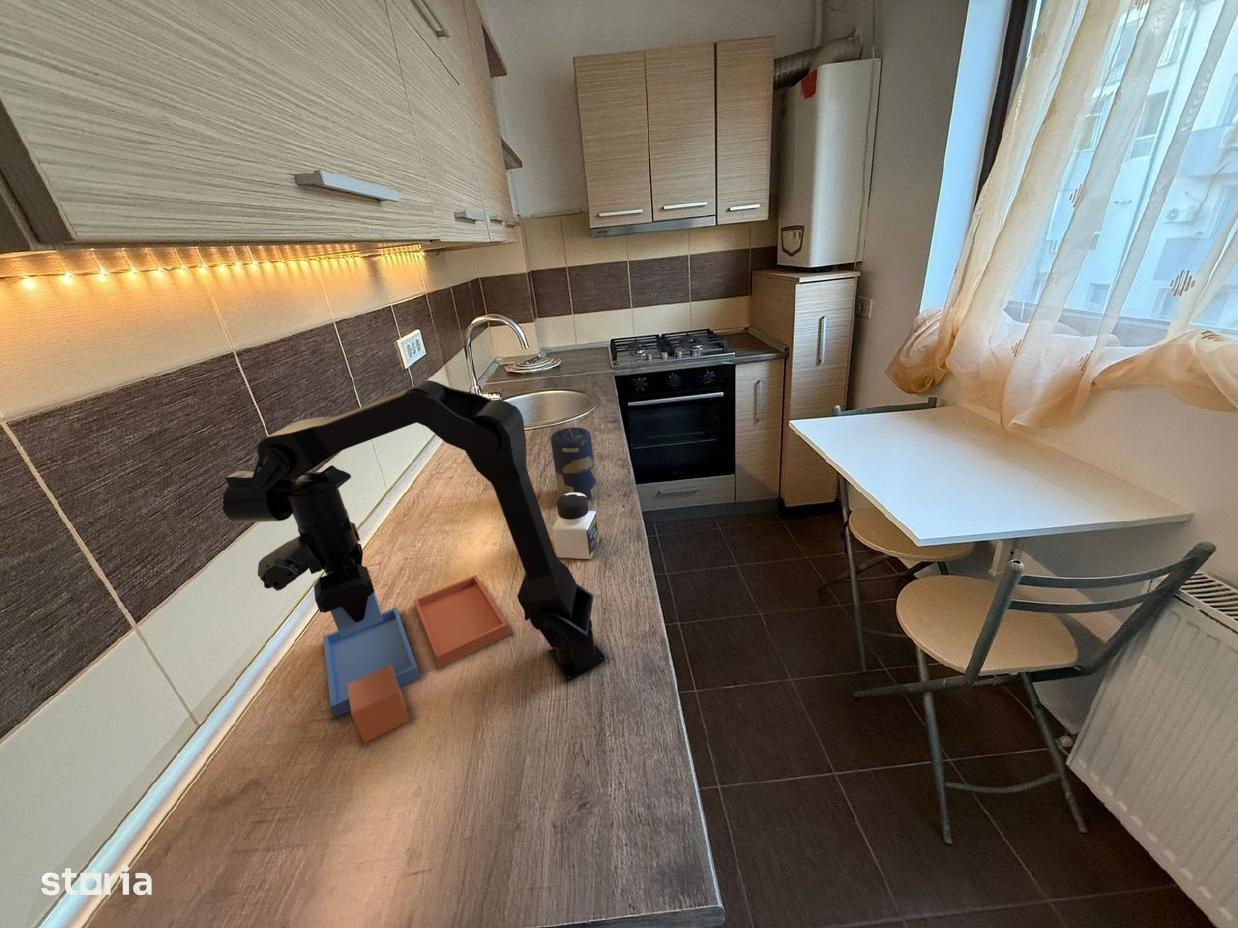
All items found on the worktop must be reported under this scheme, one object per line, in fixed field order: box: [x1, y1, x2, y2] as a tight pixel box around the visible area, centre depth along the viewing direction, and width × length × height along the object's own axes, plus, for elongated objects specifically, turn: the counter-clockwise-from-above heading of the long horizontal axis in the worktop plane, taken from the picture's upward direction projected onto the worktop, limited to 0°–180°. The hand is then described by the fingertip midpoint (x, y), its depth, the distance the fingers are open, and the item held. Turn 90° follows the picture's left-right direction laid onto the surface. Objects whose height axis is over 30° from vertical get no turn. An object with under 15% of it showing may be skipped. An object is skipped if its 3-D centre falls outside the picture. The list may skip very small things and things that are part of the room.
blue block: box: [330, 591, 383, 638], centre depth 69 cm, size 6×6×6 cm
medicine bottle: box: [551, 492, 600, 560], centre depth 95 cm, size 7×7×12 cm
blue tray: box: [322, 606, 421, 718], centre depth 73 cm, size 16×11×2 cm
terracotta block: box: [347, 665, 410, 744], centre depth 63 cm, size 6×6×6 cm
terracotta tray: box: [413, 574, 510, 668], centre depth 80 cm, size 16×11×2 cm
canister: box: [550, 426, 598, 501], centre depth 114 cm, size 10×10×18 cm
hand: (357, 609), depth 69 cm, fingers closed on blue block, 5 cm apart
